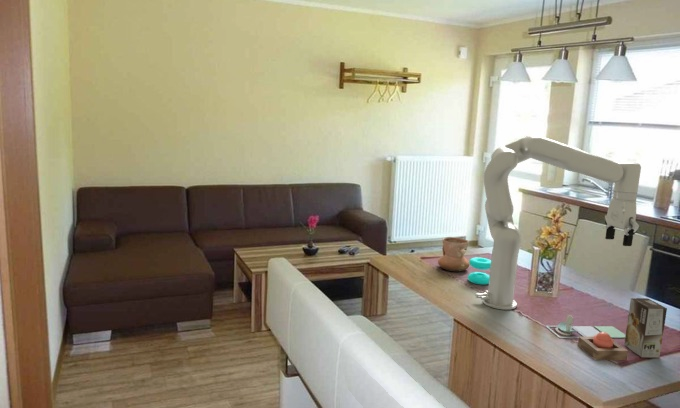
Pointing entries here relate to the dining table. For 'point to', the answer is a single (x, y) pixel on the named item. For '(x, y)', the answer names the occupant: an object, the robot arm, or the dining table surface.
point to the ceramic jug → (454, 254)
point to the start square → (564, 337)
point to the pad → (611, 331)
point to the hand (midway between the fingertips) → (618, 242)
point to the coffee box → (645, 327)
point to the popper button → (603, 340)
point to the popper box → (602, 350)
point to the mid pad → (587, 330)
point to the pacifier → (566, 326)
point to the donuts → (479, 276)
